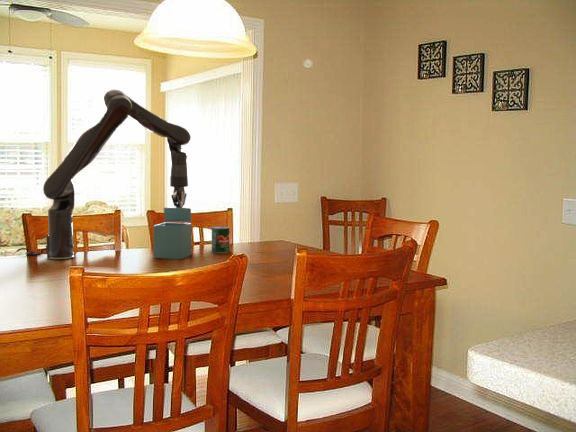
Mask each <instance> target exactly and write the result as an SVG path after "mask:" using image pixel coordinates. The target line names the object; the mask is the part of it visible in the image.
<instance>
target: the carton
mask: <svg viewBox="0 0 576 432" xmlns="http://www.w3.org/2000/svg"><path fill="white" fill-rule="evenodd" d="M190 256H192V223H191V222H167V221H164V222H161V223H158V224H154V225H153V258H154V259H163V260H164V259H167V260H183V259H185V258H187V257H190Z"/></svg>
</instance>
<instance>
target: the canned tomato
mask: <svg viewBox="0 0 576 432" xmlns="http://www.w3.org/2000/svg"><path fill="white" fill-rule="evenodd" d="M230 228H231V227H230V226H227V225H217V226H211V253H212V254H228V253H230Z"/></svg>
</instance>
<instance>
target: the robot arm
mask: <svg viewBox="0 0 576 432" xmlns="http://www.w3.org/2000/svg"><path fill="white" fill-rule="evenodd" d="M103 103H104V104H103V105H104V106H105V109H106V111H105V113H104V115H102V118H100V120H99V121H98V122H97V123H96V124H95V125H93V126H92V127H90V128H89V129H87V130H85V131H84V132H83V133H82V134H81V135H80V136H79V137H78V139H77V140H76V141H75V143H74V144H73V146H72V147H71V149H70V150H69V152H68V153H67V154H66V156H65V157H64V159H63V160H62V162H61V163H60V164H59V165H58V167H57V168H56V169H55V170H54V171H53V172H51V174H50V175H49V176H48V177H47V179H46V180H45V182H44V184H43V186H42V190H43V191H42V192H43V194H44V196H45V197H46V199H49V200H53V202H52V205H51V206H50V207H49V209H47V221H48V223H47V224H48V225H47V227H48V234H47V235H46V244H45V247H44V248H42V249H41V250H40V252H38V253H35V250H33V249H31V250H32V252H31V251H28V250H27V247H20V248H18V249H17V250H16V251H15V252H16V253H18V252H20V251H23V250H24V251H28V252H26V253H25V255H27V256H42V255H43V253H44V251H45V253H46V259H48V260H53V261H54V260H55V261H59V260H61V261H63V260H70V259H73V258H74V257H75V255H74V246H75V244H74V222H73V221H74V220H73V214H74V213H73V212H74V209H75V194H76V193H75V191H76V190H75V184H74V181H73V179H74V178H75V176H76V175H77V174H79V173H80V172H81V171H82V170H83V169H85V168H86V167H87V166H89V165H90V164H91V163H92V162H94V160H95V159H96V157H97V156H98V155H99V153H100V152H101V151H102V149H103V148H104V147H105V145H106V143H108V141H109V139H110V138H111V137H112V135H113V134H114V133H115V132H116V130H117V129H118V128H119V127H120V126H121V125H123V123H124V122H125V121H126V120H127V119H128V117H129V118H131V119H133V120H134V121H135V122H137V123H138V124H140V125H141V126H142V127H143V128H144V129H146V130H147V131H149V132H151V133H153V134H155V135H156V136H159V137H161V138H166V143H167V147H168V151H169V154H170V168H169V186H170V187H171V188H173V192H172V194H171V195H170V196H171V200H172V203H173V206H174V207H175V208H184V206H185V203H186V199H187V196H188V195H187V193H186V191H185V188H186V187H188V186H189V168H188V153H187V152H186V151H184V150H183V147H182V146H185V145H187V144H189V143H190V142H191V138H192V137H191V133H190V131H189V130H188V129H187V128H185V127H183V126H181V125H178V124H176V123H172V122H169V121H168V120H167V119H164V118H163V117H161V116H159V115H157V114H155V113H154V112H152V111H150V110H148V109H147V108H145V107H143V106H141V105H140V104H139V103H138V102H136V101H134V100H133V99H132V98H130V97H129V96H128V95H127V94H126V93H125V92H123V91H122V90H120V89H109V90H108V91H107V92H106V93H105V94H104V96H103Z"/></svg>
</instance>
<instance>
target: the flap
mask: <svg viewBox="0 0 576 432" xmlns="http://www.w3.org/2000/svg"><path fill="white" fill-rule="evenodd" d="M163 220H164V222H182V223H191V222H192V208H191V207H182V208H176V207H170V206H169V207H163Z"/></svg>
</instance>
